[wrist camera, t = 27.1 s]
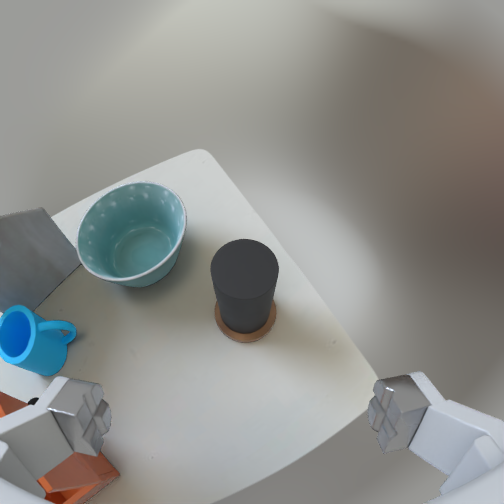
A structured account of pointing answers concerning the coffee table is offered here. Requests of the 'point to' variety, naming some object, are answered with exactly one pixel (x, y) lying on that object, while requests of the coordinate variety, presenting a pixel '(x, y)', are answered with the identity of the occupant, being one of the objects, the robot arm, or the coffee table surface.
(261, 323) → the tapered grey cylinder
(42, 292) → the planter
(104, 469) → the orange open box
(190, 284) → the coffee table surface
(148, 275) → the bowl
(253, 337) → the trivet
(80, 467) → the orange box lid
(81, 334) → the coffee table surface
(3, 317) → the mug
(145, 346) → the coffee table surface
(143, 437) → the coffee table surface
